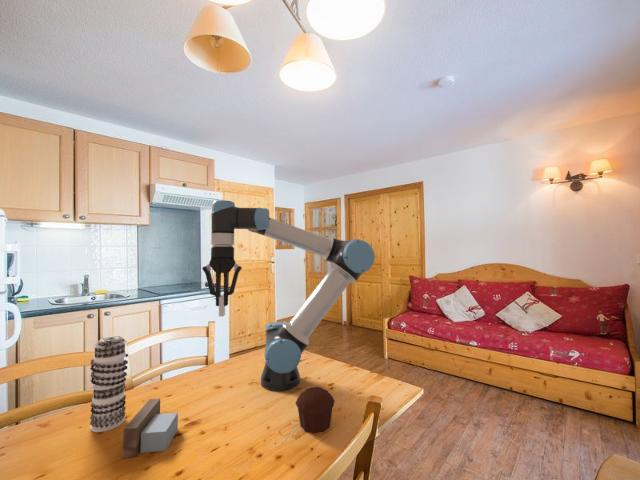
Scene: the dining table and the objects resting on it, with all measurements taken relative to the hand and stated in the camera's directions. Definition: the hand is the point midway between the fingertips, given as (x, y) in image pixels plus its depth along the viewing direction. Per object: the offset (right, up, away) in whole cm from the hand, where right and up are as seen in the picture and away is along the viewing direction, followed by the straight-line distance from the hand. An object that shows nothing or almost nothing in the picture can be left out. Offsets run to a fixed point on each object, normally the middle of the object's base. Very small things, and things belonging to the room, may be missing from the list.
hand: (221, 315), depth 100 cm
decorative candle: (-30, -29, -12) cm, 43 cm away
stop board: (-15, -29, -19) cm, 38 cm away
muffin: (+32, -29, -13) cm, 45 cm away
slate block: (-10, -29, -20) cm, 37 cm away
